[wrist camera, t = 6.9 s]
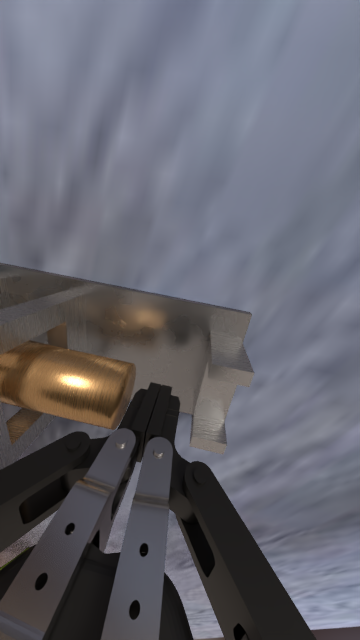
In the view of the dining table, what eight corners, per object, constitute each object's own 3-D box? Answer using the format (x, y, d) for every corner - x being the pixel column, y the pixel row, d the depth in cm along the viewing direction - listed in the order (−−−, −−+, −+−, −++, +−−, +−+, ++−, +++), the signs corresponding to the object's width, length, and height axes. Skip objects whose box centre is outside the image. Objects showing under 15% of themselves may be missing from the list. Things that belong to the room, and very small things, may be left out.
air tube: (138, 350, 13) (110, 392, 9) (134, 395, 15) (108, 448, 11) (-29, 313, 14) (-120, 338, 10) (-17, 360, 16) (-92, 397, 12)
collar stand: (250, 312, 15) (329, 424, 5) (216, 415, 19) (227, 582, 9) (-9, 261, 16) (-317, 277, 7) (12, 367, 20) (-160, 471, 11)
